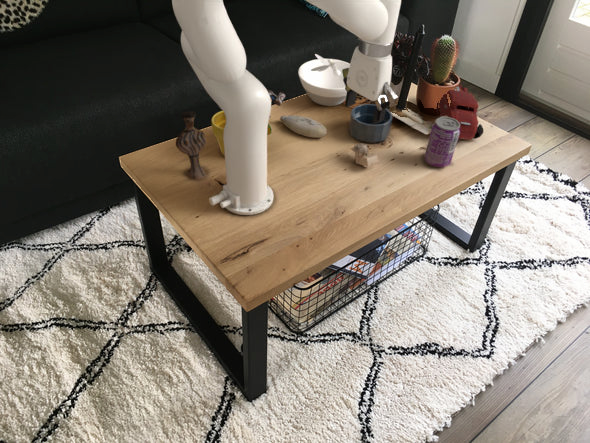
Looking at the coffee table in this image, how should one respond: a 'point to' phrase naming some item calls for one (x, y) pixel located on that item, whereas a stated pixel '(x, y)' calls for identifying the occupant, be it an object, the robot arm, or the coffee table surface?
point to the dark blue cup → (369, 124)
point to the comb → (415, 121)
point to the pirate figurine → (277, 102)
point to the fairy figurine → (326, 65)
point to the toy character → (364, 155)
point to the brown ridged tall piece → (192, 145)
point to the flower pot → (219, 128)
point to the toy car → (462, 112)
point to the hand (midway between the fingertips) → (363, 113)
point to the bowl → (324, 82)
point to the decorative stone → (304, 126)
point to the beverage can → (442, 141)
